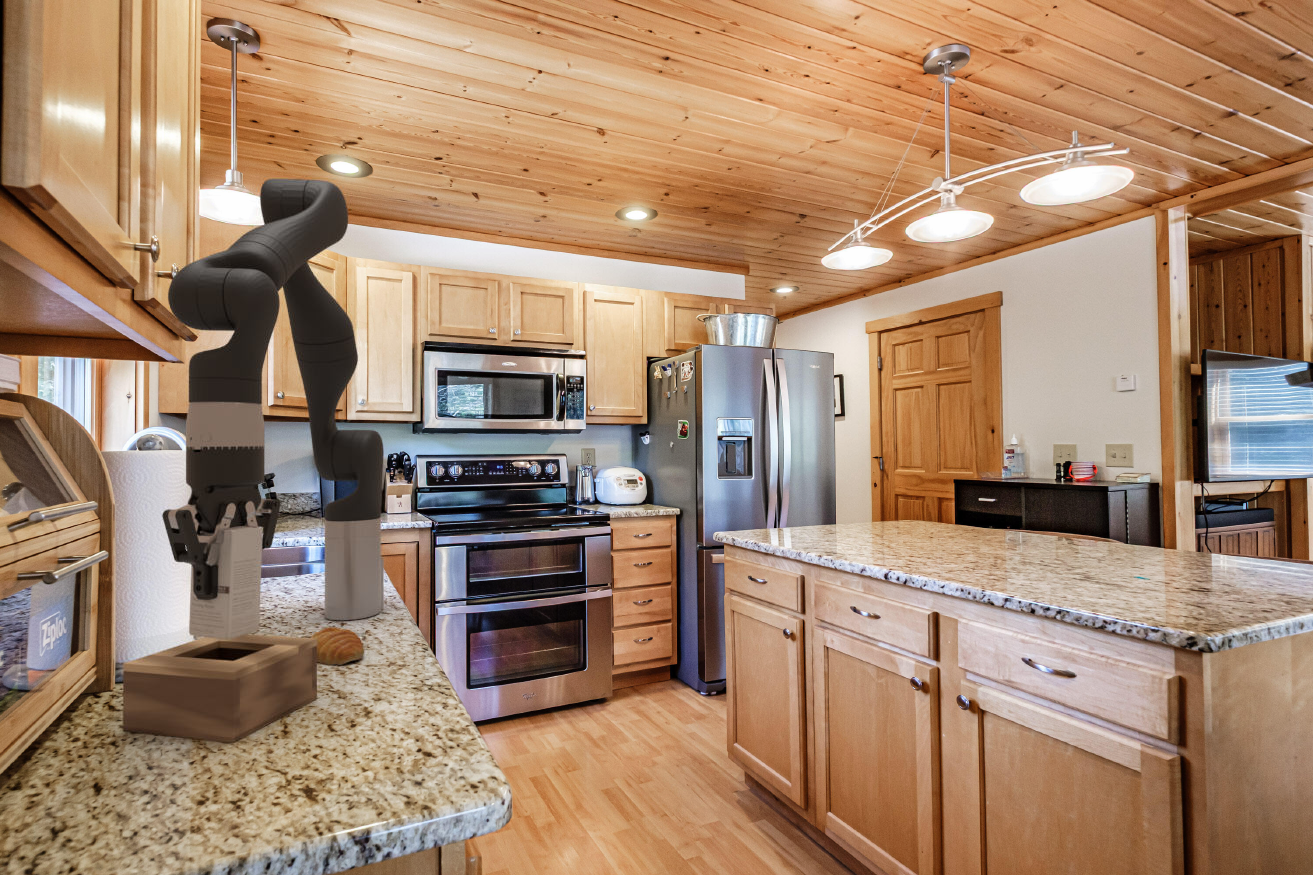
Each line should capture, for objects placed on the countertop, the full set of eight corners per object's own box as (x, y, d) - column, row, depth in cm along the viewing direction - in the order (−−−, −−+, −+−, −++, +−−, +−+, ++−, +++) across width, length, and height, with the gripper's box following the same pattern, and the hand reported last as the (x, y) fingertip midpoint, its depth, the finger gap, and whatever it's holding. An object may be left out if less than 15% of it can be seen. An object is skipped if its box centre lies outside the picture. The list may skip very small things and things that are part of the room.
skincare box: (186, 636, 74) (186, 528, 74) (223, 625, 79) (223, 523, 79) (228, 640, 72) (228, 529, 72) (264, 629, 77) (264, 525, 77)
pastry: (377, 659, 95) (376, 632, 95) (328, 672, 90) (328, 644, 90) (346, 646, 101) (346, 621, 101) (299, 658, 96) (299, 631, 96)
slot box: (219, 690, 83) (219, 632, 83) (316, 698, 80) (316, 638, 80) (123, 730, 71) (123, 663, 71) (233, 742, 68) (233, 672, 68)
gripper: (249, 443, 83) (249, 579, 83) (138, 444, 69) (138, 607, 69) (300, 443, 82) (301, 582, 82) (197, 443, 68) (198, 611, 68)
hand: (226, 593), depth 75 cm, fingers closed on skincare box, 4 cm apart
